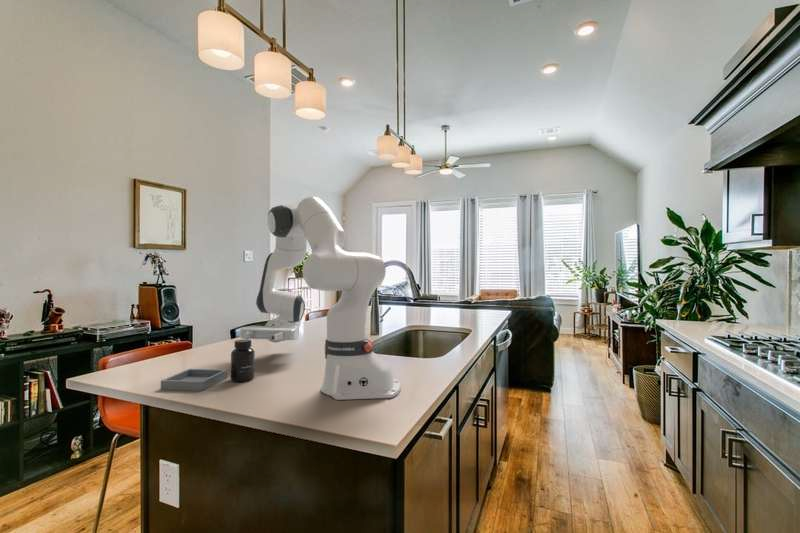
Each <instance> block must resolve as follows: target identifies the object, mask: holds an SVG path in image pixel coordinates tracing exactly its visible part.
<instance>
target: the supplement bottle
mask: <svg viewBox="0 0 800 533" xmlns="http://www.w3.org/2000/svg"><path fill="white" fill-rule="evenodd" d="M233 347H234V349H233V350H232V351H231V353H230V381H231V382H233V383H246V382H250V381H252V380H254V378H255V362H256V361H255V356H256V355H255V350H254V349H253V348H252V339H238V340H235V341H234V346H233Z"/></svg>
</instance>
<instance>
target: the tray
mask: <svg viewBox="0 0 800 533" xmlns="http://www.w3.org/2000/svg"><path fill="white" fill-rule="evenodd" d="M227 378H228V369H219V368H218V369H214V368H211V369H210V368H209V369H208V368H188V369H185V370H183V371H180V372H178V373H176V374H173V375H171V376H169V377H166V378H164V379H162V380H160V390H164V391H190V392H191V391H195V392H196V391H197V392H203V391H206V390H207V389H210V388H211V387H213V386H215V385H217V384H219V383H220V382H222V381H224V380H226V379H227Z"/></svg>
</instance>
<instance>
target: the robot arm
mask: <svg viewBox="0 0 800 533" xmlns="http://www.w3.org/2000/svg"><path fill="white" fill-rule="evenodd" d="M267 225H268V228H269V232H270V233H271V234H272V235H273V236H274V237H275V248H274V251H273V252H270V253H269V254H268V256H267V258H266V259H265V263H264V265H263V266H264V267H263V271H262V276H261V282H260V287H259V291H258V294H257V296H256V302H255V304H256V307H257V308H258V311H259V312H260V313H263V314H269V315H270V314H272V315H276V316H277V317H275V318H272V319H270V320H268V321H267V322H266V323H265V324H264V325H251V326H244V327H241V328H240V330H239V337H240V339H241V340H244V339H247V340H268V341H269V342H271V343H276V344H277V343H280V342H285V341H297V340H299V338H300V327H301V323H302V321H301V320H302V319H303V317H304V314H305V310H306V309H305V308H306V304H305V300H304V299H303V297H302V295H300V294H297V293H293V292H290V291H284V290H279V289H276V288H275V287H274V284H275V281H276V275H277V272H278V271H282V270H290V269H292V268H293V269H294V268H296V267H298V266H299V265H301V264H302V263H303V261H304V260H305V261H304V263H303V266H302V277H303V280H304V281H305V283H306V285H307V287H309V288H310V289H312V290H317V291H324V292H340V291H341V295H340V297H339V299H338V301H337V302H336V303H335V304H334V305H332V306H330V308H329V309H328V311H327V313H326V339H325V342H324V358H325V368H324V375H323V381H322V385H321V387H320V391H321V392H322V393H323V394H324V395H327V396H330V397H332V398H333V399H334V400H336V401H337V400H339V401H342V400H364V399H365V400H367V399H371V400H372V399H390V398H391V399H392V398H394V397H396V396H397V395H398V394H399V393H400V392H401V388H402V387H401V382H400V381H399V380H398V379H396V378H394V375H393V371H392V368H391V365H390V363H389V362H387V361H385V359H383V357H382V358H381V357H380V356H379V355H377V354H376V353H375V352H374V343H373V342H374V341H373V339H369V338H367V313H368V307H369V305H370V301H371V298H372V296H373V295H374V292H375V291H376V289H377V288H378V287H379V286H380V285H381V284H383V282H384V280H385V277H386V272H387V271H386V264H385V263H384V260H383V258H382V257H380V256H379V255H376V254H372V253H369V252H366V251H346V250H343V248H344V246H345V244H346V242H347V240H346V238H347V235H346V231H345V230H344V228H343V227H342V225H341V223H340V222H339V220H338V218H337V217H336V215H335V214H334V212H333V211H332V210H331V208H330V207H329V206H328V204H327V203H325V201H323V200H322V199H321V198H319V197H316V196H307V197H305V198H303V199H301V201H300V202H299V203H295V204H293V203H291V204H286V205H283V204H281V205H277V206H273V207H271V209H270V210H269V211H268V214H267ZM307 245H309V247H310V249H311V254H309V255H308V257H307V258H306V255H307ZM399 391H400V392H399Z"/></svg>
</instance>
